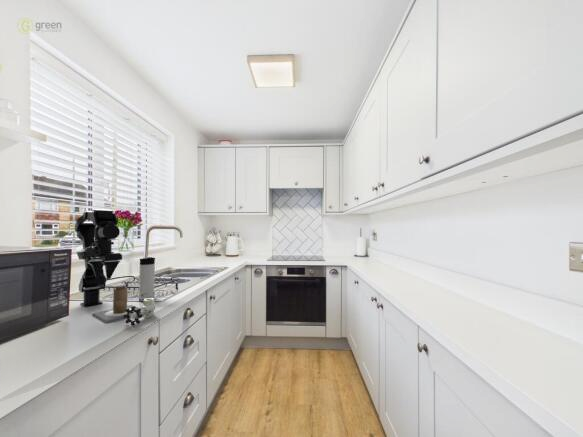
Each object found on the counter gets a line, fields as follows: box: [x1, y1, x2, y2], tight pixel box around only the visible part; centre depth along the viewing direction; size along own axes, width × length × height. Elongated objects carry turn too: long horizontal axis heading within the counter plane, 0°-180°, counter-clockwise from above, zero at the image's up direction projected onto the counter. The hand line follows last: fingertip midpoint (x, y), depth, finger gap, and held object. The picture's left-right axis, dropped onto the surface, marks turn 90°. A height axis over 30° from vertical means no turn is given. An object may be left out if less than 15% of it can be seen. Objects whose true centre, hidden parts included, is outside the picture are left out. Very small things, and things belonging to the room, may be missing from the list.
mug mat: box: [91, 304, 140, 324], centre depth 105 cm, size 14×14×1 cm
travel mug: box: [138, 256, 156, 302], centre depth 126 cm, size 6×7×20 cm
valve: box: [123, 297, 156, 327], centre depth 99 cm, size 7×7×12 cm
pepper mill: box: [112, 284, 129, 314], centre depth 105 cm, size 5×5×10 cm
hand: (102, 278), depth 109 cm, fingers open, 9 cm apart
